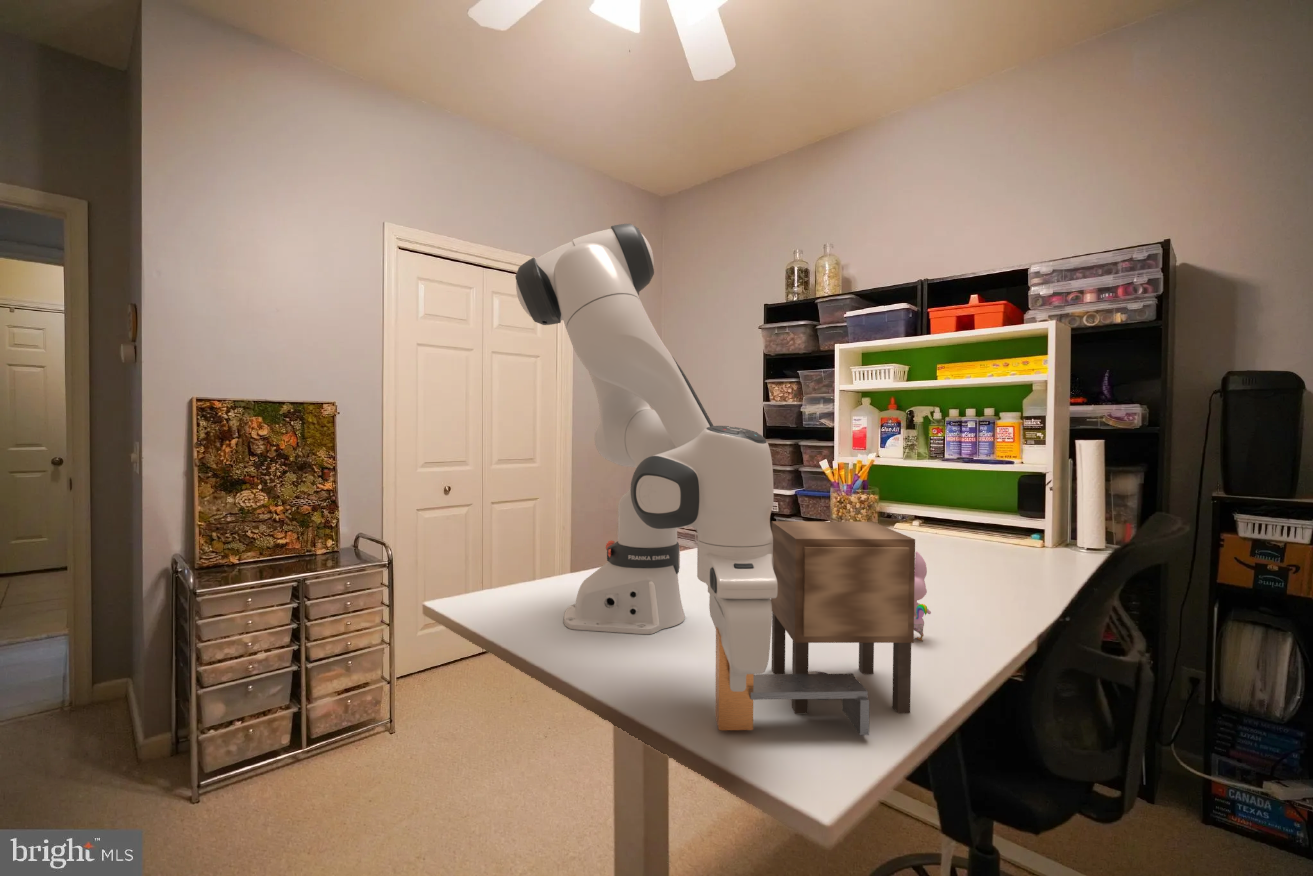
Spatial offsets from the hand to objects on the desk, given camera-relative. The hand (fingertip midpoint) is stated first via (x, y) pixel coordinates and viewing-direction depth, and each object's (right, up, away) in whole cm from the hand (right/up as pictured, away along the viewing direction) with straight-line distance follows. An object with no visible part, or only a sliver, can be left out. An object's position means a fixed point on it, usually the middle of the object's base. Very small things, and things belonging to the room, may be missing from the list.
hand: (733, 680), depth 71 cm
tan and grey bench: (+6, -5, 0) cm, 8 cm away
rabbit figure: (+34, -6, +30) cm, 46 cm away
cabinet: (+15, -6, +11) cm, 20 cm away
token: (+13, -6, +11) cm, 18 cm away
